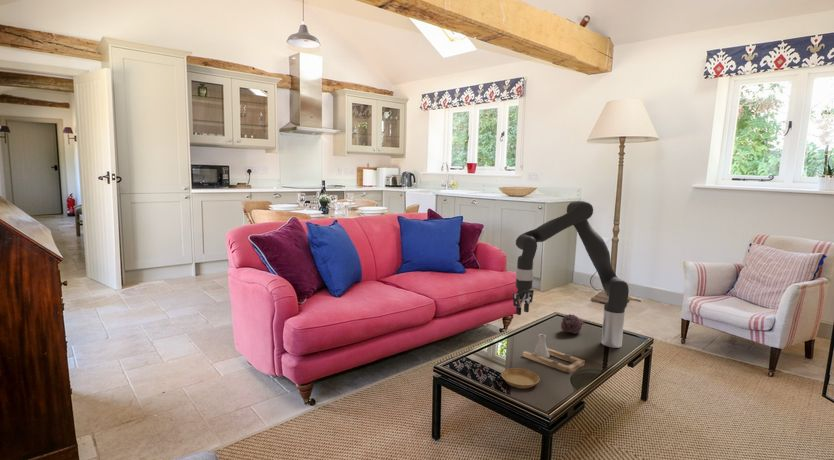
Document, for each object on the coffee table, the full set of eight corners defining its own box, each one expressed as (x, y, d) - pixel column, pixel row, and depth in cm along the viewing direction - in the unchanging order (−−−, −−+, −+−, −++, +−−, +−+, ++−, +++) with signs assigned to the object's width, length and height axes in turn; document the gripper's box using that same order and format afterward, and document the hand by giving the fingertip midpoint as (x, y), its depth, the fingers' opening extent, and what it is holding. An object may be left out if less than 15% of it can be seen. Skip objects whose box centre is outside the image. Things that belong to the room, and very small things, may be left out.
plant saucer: (546, 383, 177) (546, 376, 177) (526, 395, 167) (526, 388, 166) (514, 370, 187) (514, 364, 187) (493, 381, 177) (494, 375, 177)
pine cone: (569, 339, 224) (570, 320, 223) (552, 334, 232) (553, 315, 231) (588, 332, 235) (589, 314, 234) (571, 327, 243) (573, 309, 242)
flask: (540, 360, 198) (541, 339, 196) (529, 354, 204) (530, 333, 203) (552, 358, 201) (554, 336, 200) (541, 352, 207) (542, 331, 206)
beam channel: (538, 349, 211) (538, 344, 211) (584, 364, 194) (584, 359, 194) (522, 356, 202) (522, 351, 202) (569, 373, 185) (570, 368, 185)
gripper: (525, 274, 214) (524, 308, 216) (508, 278, 204) (506, 314, 206) (539, 277, 208) (537, 312, 210) (522, 281, 199) (520, 318, 201)
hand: (522, 313), depth 208 cm, fingers open, 5 cm apart
